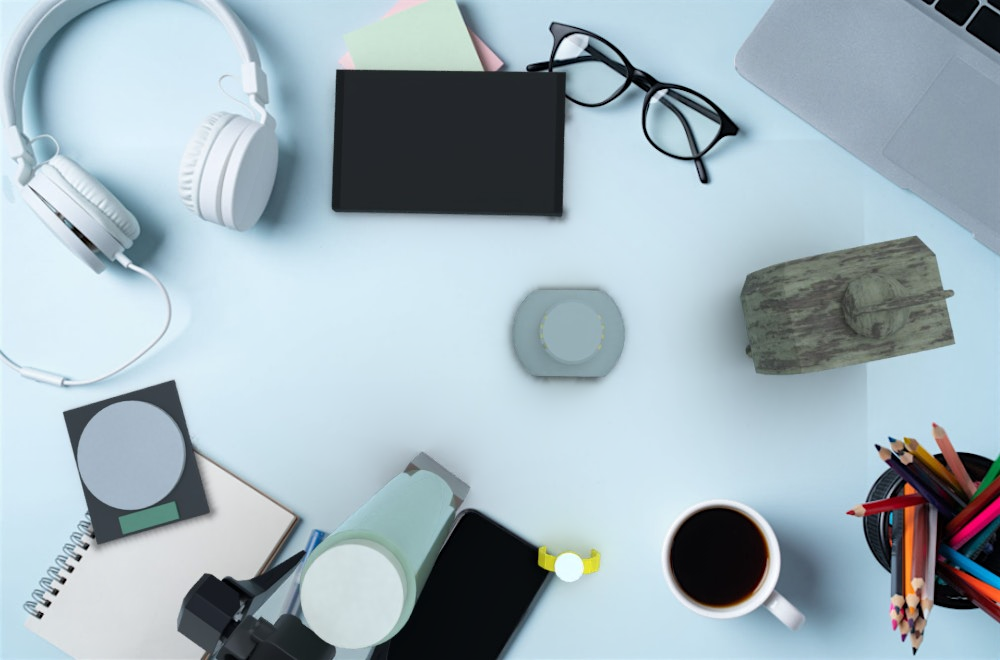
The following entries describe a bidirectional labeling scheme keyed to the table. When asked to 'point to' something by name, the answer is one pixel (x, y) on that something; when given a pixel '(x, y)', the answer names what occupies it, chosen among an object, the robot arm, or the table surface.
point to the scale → (136, 462)
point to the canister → (377, 562)
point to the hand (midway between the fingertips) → (348, 584)
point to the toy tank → (846, 308)
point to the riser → (453, 482)
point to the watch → (569, 564)
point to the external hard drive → (449, 142)
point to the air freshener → (568, 333)
